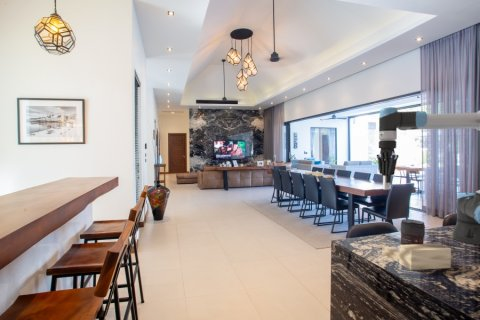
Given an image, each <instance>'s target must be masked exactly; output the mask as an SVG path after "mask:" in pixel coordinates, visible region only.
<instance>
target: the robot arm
mask: <svg viewBox="0 0 480 320" xmlns="http://www.w3.org/2000/svg"><path fill="white" fill-rule="evenodd" d="M378 120H379V121H378V125H379V126H378V127H379V128H378V132H379V133H378V139H379V141H378V148H379V149H380V152H379V154H376V158H377V163H378V171H379V174H380V175H382V189H383V190H385V191H386V190H391V180H392V179H391V176H394V175H395V172H396V167H397V163H398V158H399V154H396V151H395V149H397V137H398V136H397V134H398V132H397V129H398V130H400V131H413V130H454V129H455V130H457V129H460V130H464V129H465V130H467V129H469V130H472V129H475V130H476V131H480V110H478V111H476V112H460V113H459V112H457V113H431V114H430V113H429V114H428V113H427V112H426V111H422V110H421V111H420V110H416V111H415V110H414V111H398V108H397V107H392V106H391V107H382V108H380V110H379V118H378ZM456 200H457V203H456V205H457V207H456V212H457V213H456V224H455V226H454V228H453V231H452V233H451V237H452V239H454V240H456V241H458V242H463V243H464V244H465V243H466V244H471V245H478V246H480V189H478V190H476V191H475V192H459V193H458V194H457V199H456Z"/></svg>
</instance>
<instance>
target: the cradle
mask: <svg viewBox="0 0 480 320" xmlns="http://www.w3.org/2000/svg"><path fill="white" fill-rule="evenodd" d="M381 254H383V255H385V256H387V257H389V258H391V259H392V260H394V261H396V262H397V263H399V264H400V265H402V266H404V267H405V268H406V269H409V270H410V271H413V270H414V271H416V270H417V271H419V270H433V269H434V270H436V269H451V268H452V266H451V265H452V248H450V247H447V246H445V245H442V244H439V243H424V244H413V245H400V244H399V251H398V250H396V249H394V248H392V247H390V246H388V245H382V246H381Z"/></svg>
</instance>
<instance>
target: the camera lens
mask: <svg viewBox="0 0 480 320" xmlns="http://www.w3.org/2000/svg"><path fill="white" fill-rule="evenodd" d="M425 231H426V225H425V222H424V221H421V220H417V219H410V218H403V219H401V222H400V244H399V246H400V245H413V244H425V243H424V242H425V241H424V239H425V234H426V233H425Z"/></svg>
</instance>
